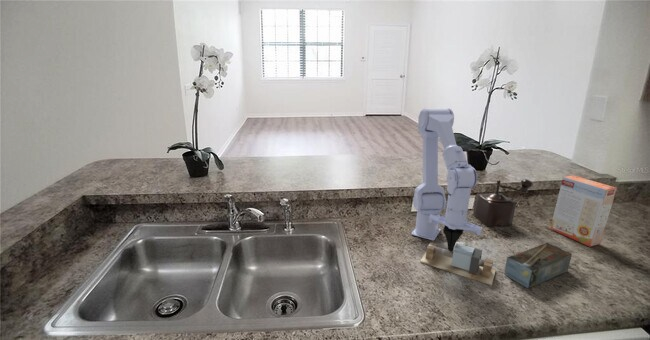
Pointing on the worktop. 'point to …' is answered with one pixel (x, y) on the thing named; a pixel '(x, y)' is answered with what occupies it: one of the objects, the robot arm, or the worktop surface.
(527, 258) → the beverage carton
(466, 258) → the sleeve
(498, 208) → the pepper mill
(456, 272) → the pipe stand
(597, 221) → the cracker box
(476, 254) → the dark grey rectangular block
